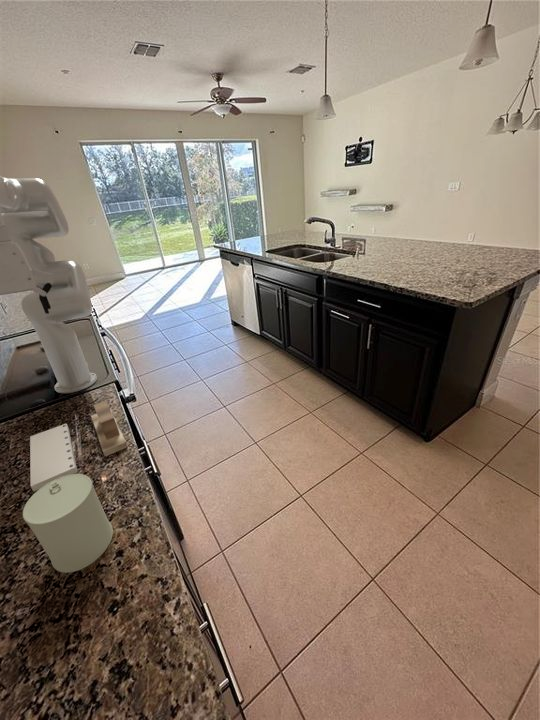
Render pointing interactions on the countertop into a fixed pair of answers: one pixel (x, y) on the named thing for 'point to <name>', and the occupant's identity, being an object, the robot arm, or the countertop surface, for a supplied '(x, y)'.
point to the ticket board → (51, 456)
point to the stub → (107, 429)
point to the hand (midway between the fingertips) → (22, 317)
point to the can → (69, 522)
